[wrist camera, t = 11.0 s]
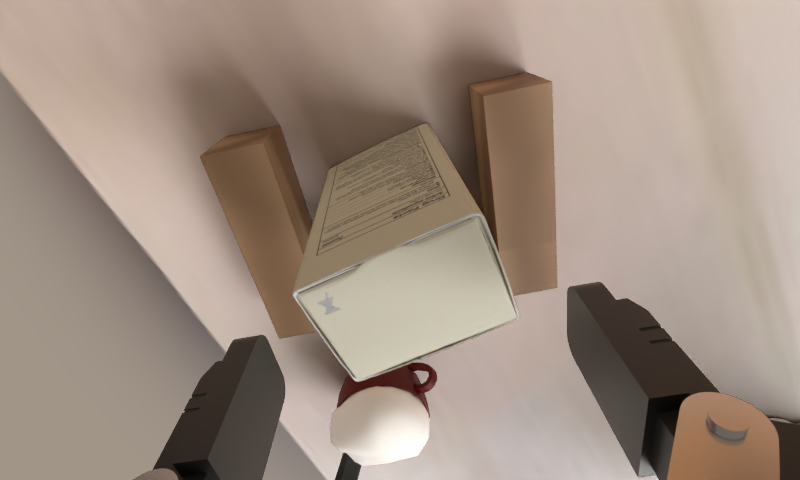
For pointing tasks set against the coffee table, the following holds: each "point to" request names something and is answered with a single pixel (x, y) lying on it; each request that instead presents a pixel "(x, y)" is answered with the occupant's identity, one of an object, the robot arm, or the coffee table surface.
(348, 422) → the cocoa
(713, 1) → the coffee table surface
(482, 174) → the wooden u-shaped block
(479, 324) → the skincare box
